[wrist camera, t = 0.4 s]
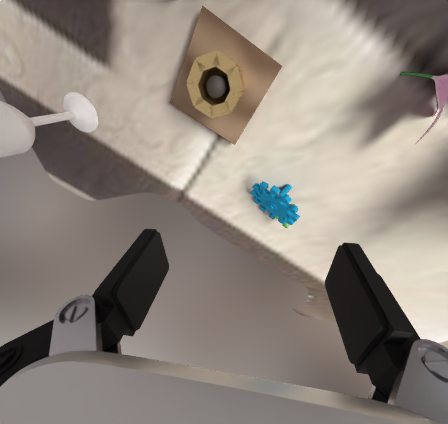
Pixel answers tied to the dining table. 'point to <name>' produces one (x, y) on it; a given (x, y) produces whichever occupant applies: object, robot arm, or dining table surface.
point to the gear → (276, 203)
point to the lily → (444, 92)
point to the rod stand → (225, 75)
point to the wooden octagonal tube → (200, 76)
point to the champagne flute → (42, 123)
